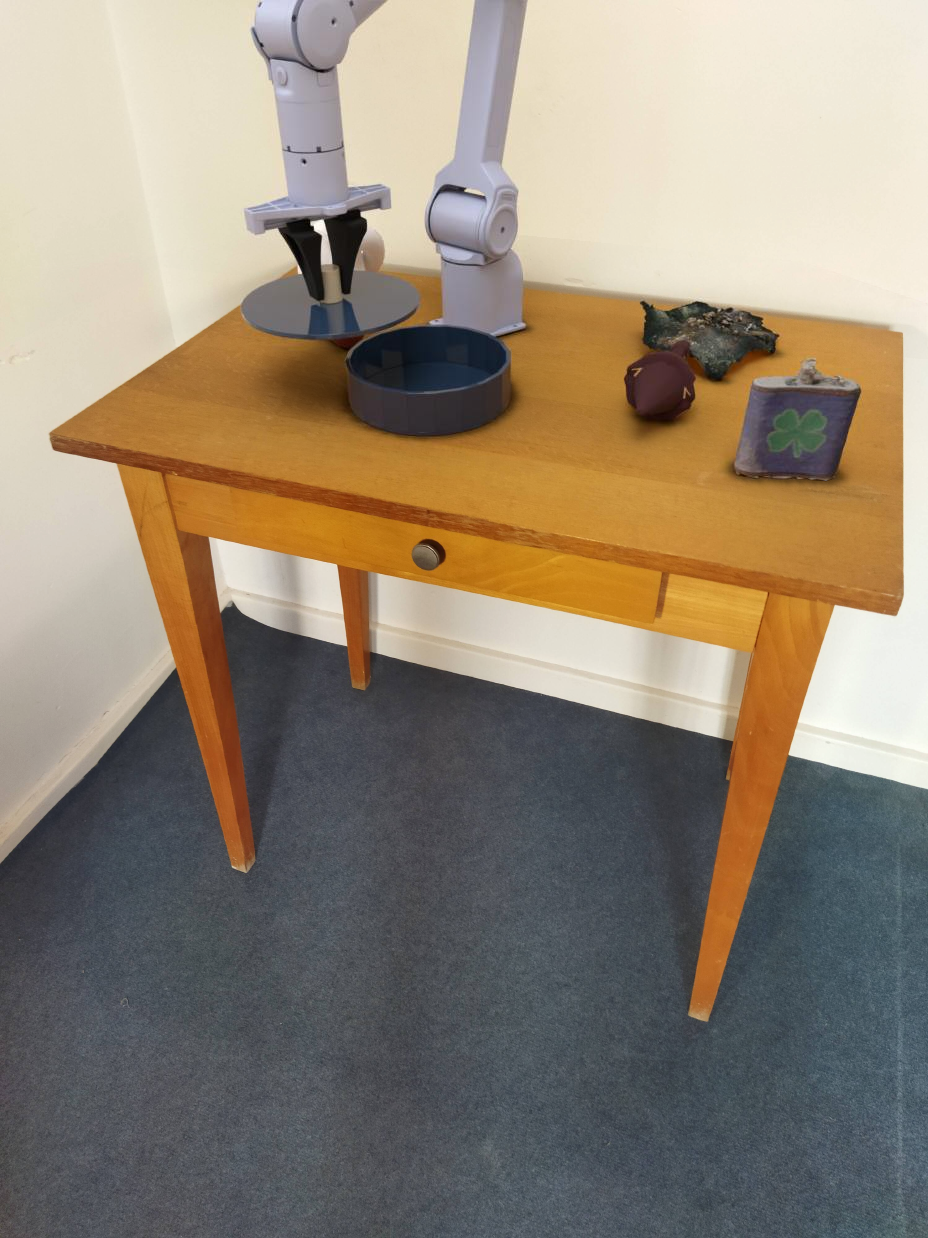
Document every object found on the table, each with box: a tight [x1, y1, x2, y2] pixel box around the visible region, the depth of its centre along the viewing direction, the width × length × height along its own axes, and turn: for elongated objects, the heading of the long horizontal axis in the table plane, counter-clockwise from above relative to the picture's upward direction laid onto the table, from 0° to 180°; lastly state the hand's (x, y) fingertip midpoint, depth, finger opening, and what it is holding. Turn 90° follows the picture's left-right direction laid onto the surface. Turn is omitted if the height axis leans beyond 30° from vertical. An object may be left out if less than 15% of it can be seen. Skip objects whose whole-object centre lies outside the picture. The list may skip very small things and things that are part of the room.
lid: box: [240, 264, 421, 341], centre depth 89 cm, size 18×18×4 cm
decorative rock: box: [639, 300, 780, 382], centre depth 102 cm, size 19×6×15 cm
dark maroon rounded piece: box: [623, 340, 697, 422], centre depth 88 cm, size 7×7×15 cm
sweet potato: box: [329, 335, 365, 349], centre depth 105 cm, size 4×8×4 cm, turn 33°
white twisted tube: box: [296, 220, 386, 274], centre depth 116 cm, size 11×12×9 cm
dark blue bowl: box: [344, 324, 512, 437], centre depth 93 cm, size 17×17×5 cm
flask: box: [733, 357, 862, 481], centre depth 78 cm, size 9×3×11 cm, turn 83°
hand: (329, 294), depth 90 cm, fingers closed on lid, 2 cm apart
